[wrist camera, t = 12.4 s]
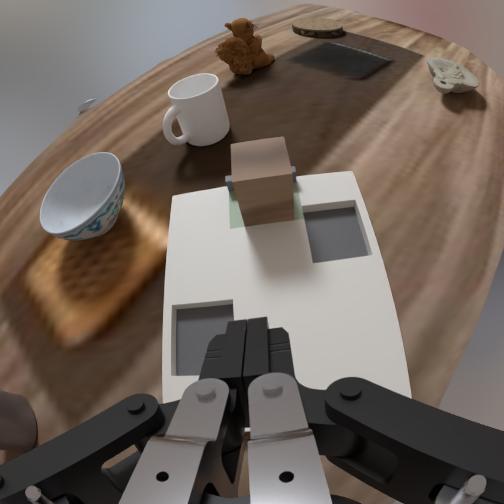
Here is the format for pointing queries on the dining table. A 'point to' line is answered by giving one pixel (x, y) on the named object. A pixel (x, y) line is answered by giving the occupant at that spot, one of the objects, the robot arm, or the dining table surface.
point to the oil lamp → (451, 76)
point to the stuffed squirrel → (243, 48)
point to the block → (263, 181)
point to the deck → (283, 286)
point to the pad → (236, 215)
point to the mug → (197, 111)
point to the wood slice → (317, 27)
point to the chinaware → (84, 198)
